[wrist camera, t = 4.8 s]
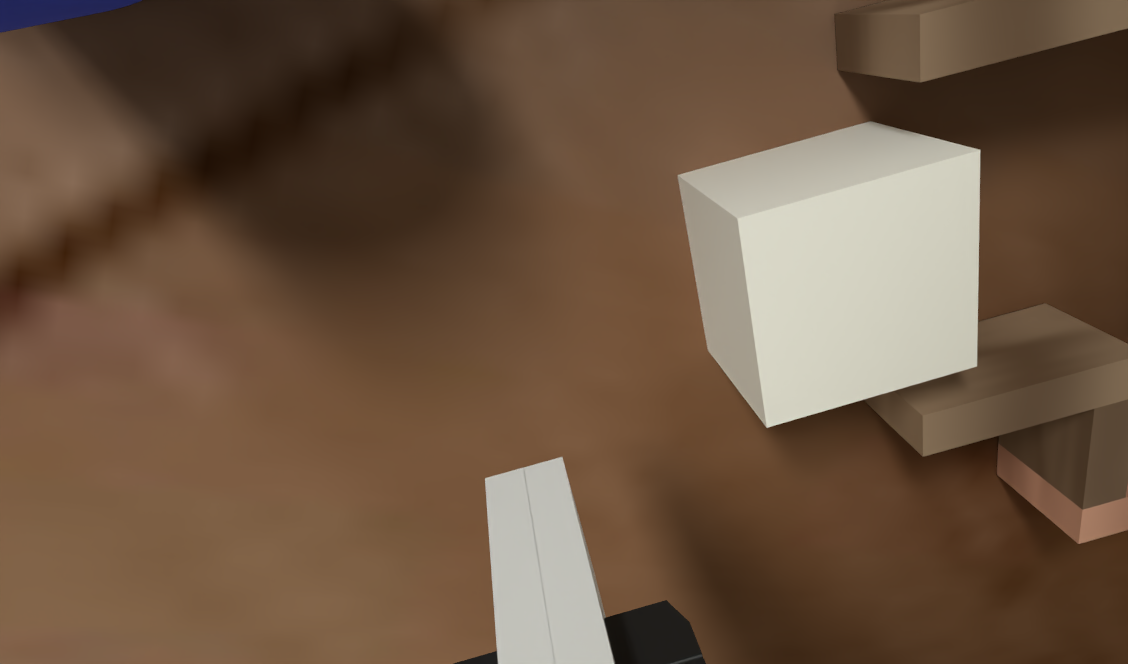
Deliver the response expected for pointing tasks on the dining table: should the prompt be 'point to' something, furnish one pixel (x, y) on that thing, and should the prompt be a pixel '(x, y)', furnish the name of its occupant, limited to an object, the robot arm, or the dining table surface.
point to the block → (837, 266)
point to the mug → (51, 11)
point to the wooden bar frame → (1026, 337)
